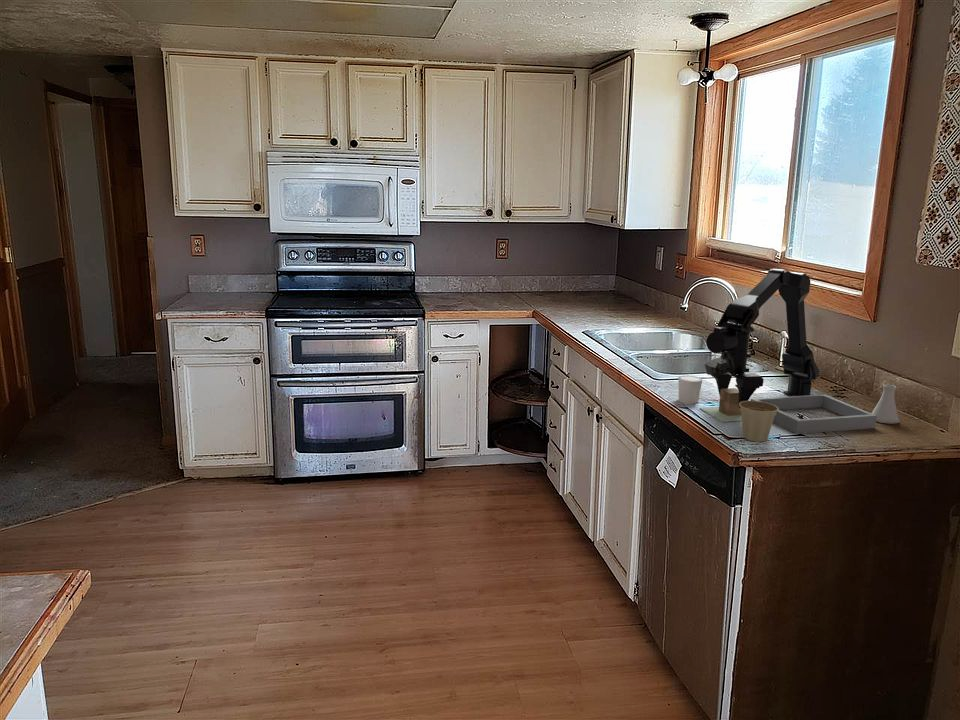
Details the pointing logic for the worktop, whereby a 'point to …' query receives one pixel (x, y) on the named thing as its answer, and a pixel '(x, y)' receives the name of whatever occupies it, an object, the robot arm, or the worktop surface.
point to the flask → (887, 406)
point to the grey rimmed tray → (848, 420)
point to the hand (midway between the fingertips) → (731, 403)
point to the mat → (721, 414)
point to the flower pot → (757, 419)
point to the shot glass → (689, 389)
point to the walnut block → (729, 402)
